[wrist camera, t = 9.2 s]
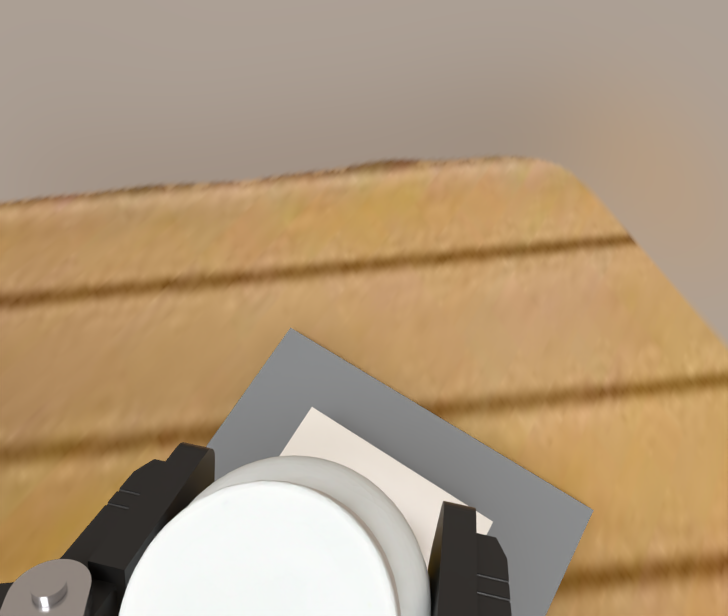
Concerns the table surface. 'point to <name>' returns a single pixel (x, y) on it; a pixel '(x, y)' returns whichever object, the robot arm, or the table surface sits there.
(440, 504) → the plinth
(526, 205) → the table surface
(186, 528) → the supplement bottle
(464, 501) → the base board
